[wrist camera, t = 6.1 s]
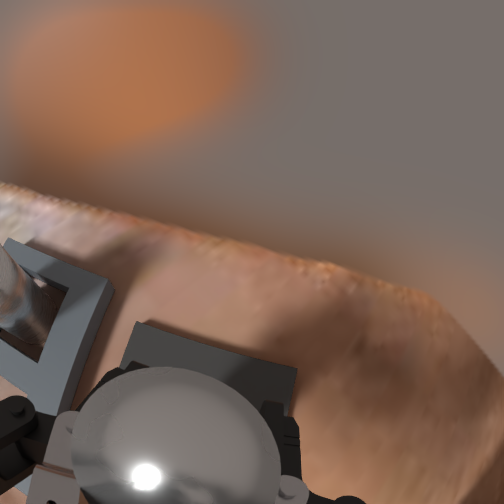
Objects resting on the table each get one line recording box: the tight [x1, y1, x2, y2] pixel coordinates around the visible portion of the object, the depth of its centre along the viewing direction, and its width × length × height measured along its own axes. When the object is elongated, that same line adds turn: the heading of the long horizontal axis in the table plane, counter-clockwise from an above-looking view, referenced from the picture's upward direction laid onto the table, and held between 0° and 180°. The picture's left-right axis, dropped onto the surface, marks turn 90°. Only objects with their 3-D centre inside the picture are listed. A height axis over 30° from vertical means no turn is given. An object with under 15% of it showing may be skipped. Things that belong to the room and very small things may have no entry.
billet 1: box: [0, 244, 57, 345], centre depth 15 cm, size 5×5×10 cm
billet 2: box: [71, 367, 281, 504], centre depth 9 cm, size 5×5×10 cm
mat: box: [119, 321, 298, 416], centre depth 17 cm, size 12×12×1 cm
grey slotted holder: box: [0, 238, 115, 496], centre depth 16 cm, size 12×19×2 cm, turn 166°
